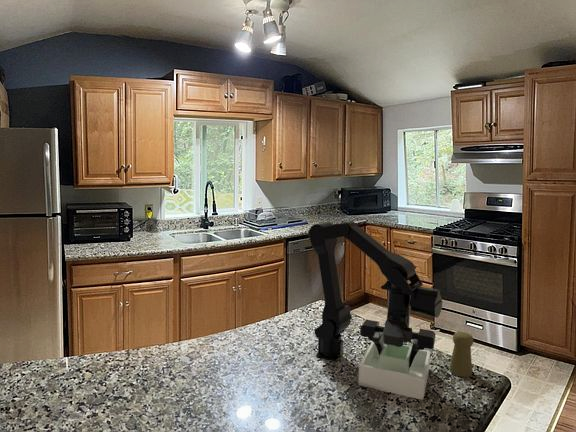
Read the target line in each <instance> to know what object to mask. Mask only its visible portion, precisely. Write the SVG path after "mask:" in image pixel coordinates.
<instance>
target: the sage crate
mask: <svg viewBox="0 0 576 432" xmlns="http://www.w3.org/2000/svg"><path fill="white" fill-rule="evenodd" d="M411 350H412V345H407V344H403V346H402V347H396V346H394V345H386V344H385V345H384V347H383V350H382V352H381V354H380V362H379V368H382V369H387V370H391V371H396V372H401V373H406V374H408V373H409V369H410V367H409V360H410V355H411Z"/></svg>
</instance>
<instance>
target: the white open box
mask: <svg viewBox="0 0 576 432" xmlns="http://www.w3.org/2000/svg"><path fill="white" fill-rule="evenodd" d="M384 345H385V344H384ZM430 360H431V350H426V349H424V350H419V351H418V352H417V354H416V356H415V358H414V360H413V362H412V365H411V367H410V369H409V373H408V374H406V373H401V372H396V371H391V370H387V369H382V368H379V362H380V357H379V353H378V350H377V347H376V345H375V343H374V342H373V341H371V343H370V345H369V347H368V348H367V350H366V352H365V354H364V355H363V357H362V359H361V361H360V362H359V364H358V383H357V384H358V386H361V387H365V388H370V389H373V390H377V391H381V392H382V391H383V392H387V393H390V392H391V394H396V395H399V396H404V397H408V398H412V399H416V400H421V401H423V400H424V399H425V398H424V397H425V392H426V387H427V382H428V379H429V373H430V364H431V363H430V362H431V361H430Z"/></svg>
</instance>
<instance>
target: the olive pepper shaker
mask: <svg viewBox="0 0 576 432" xmlns="http://www.w3.org/2000/svg"><path fill="white" fill-rule="evenodd" d="M452 342H453V344H454V345H453V349H452V354H451V357H450V358H451V359H450V362H449V368H448V371H449V372H450V373H451V374H453V375H454V376H457V377H461V378H468V377H472V376H473V364H472V349H471V348H472V346H473V345H474V337H473V336H472V335H471V334H470V333H468V332H465V331H457V332H455V333H454V334H453V335H452Z"/></svg>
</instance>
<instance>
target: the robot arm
mask: <svg viewBox="0 0 576 432" xmlns="http://www.w3.org/2000/svg"><path fill="white" fill-rule="evenodd" d="M307 232H308V233H307V234H308V239H309V241H310V245H311V247H312V249H313V251H314V252H315V253H316V255H317V259H318V266H319V272H320V279H321V285H322V291H323V298H324V305H323V308H322V312H321V316H322V317H321V324H320V325H319V326H318V327H316V328H315V329H314V330H313V331H314V334H315V338H317V341H318V344H317V347H318V348H317V353H316V354H315V356H316V357H317V358H321V359H322V358H323V359H326V360H332V361H335V362H336V361H338V360H339V358H340V357H341V356H342V354H343V353H344V340H343V338H342V337H343V336H342V334H343V333H345V330H346V329H347V328H349V326H350V324H351V320H352V319H353V317H352V315H351V306H350V305H345V304H344V301H343V300H342V295H341V289H340V283H339V282H340V281H339V275H338V274H339V273H338V270H337V269H338V268H337V262H336V256H335V255H336V254H335V252H336V251H335V250H336V247H337V243H338V238H342V237H344V238H345V239H347V241H349V242H350V243H351V244H352V245H354V246H355V247H356V248H357V249H358V250H359V251H361V252H362V253H363V254H364V255H366V256H367V257H369V259H370V260H372V261H373V262H374V263H375V264H376V265H377V266H378V268H379V270H380V272H381V274H382V275H383V276H384V277H385V278H386V279H387V280H386V282H385V283H384V284H382V285H381V286H380V289H381V290H384V291H388V294H387V295H388V296H387V309H386V310H387V311H386V313H387V314H386V320H385V322H384V326H380V321H377V320H372V319H365V320H364V321H363V323H362V325H361V326H360V328H359V329H360V330H359V336H361V337H365V338H368V340H369V341H371V342H372V341H373V342H374V343H375V345H376V347H377V350H378V353H379V357H380V354H381V352H382V350H383V347H384V344H386V345H394V346H396V347H402V346H403V345H404V343H405V344H407V343H412V341H413V343H412V345H411V346H412V350H411V355H410V360H409V367H411V365H412V362H413V360H414V358H415V356H416V354H417V352H418V351H419V350H425V349H429V350H433V349H434V348H435V343H436V333H435V331H434V330H431V329H426V328H424V329H423V328H419V331H418V332H415V331H413V328H412V327H410V316H411V311H412V312H413V313H416V314H420V315H423V316H424V315H425V316H428V317H432V318H439V316H440V315H441V312H442V309H443V308H442V307H443V299H442V295H441V290H440V289H439V288H429V287H425V286H424V284H423V282H422V280H421V279H420V277H419V275H418V274H417V273H416V268H415V267H416V266H415V264H414V263H413V261H411V260H409V259H408V258H406V257H404V256H402V255H400V254H398V253H395V252H392V251H390V250H388V249H387V248H386V247H384V246H383V245H382V244H381V243H379V242H378V241H377V240H376V239H375V238H373V237H372V236H371V235H370V234H368V233H367V232H366V231H365V230H363V229H362V228H360V226H359V225H358V224H357V223H356V222H354V221H353V220H348V221H345V222H340V223H332V222H330V221H324V222H320V223H315V224H313V225H311V226H310V228H309V229H308V231H307ZM409 282H410V283H409Z"/></svg>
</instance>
